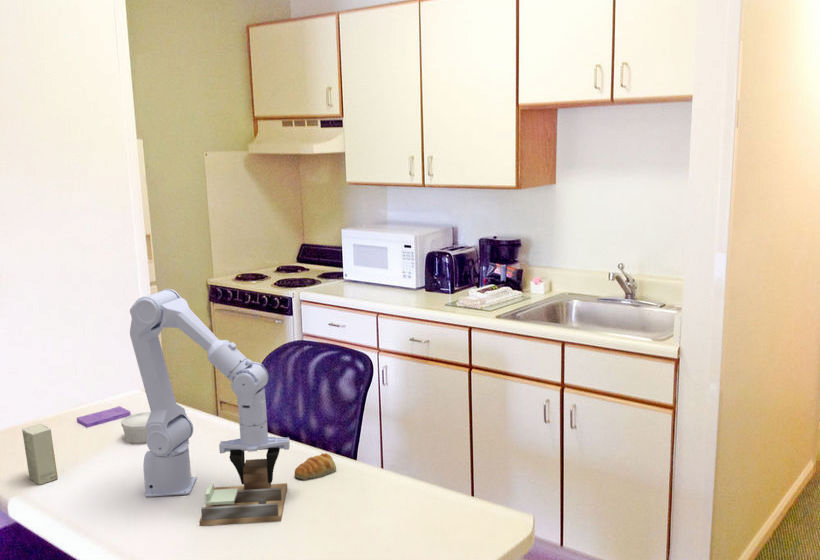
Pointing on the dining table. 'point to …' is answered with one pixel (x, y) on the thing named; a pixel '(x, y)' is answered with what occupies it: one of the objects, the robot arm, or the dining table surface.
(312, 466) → the pastry
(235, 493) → the cover
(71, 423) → the dining table surface
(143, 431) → the ramekin
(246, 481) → the brown block
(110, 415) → the purple flat block
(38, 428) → the skincare box
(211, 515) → the board
